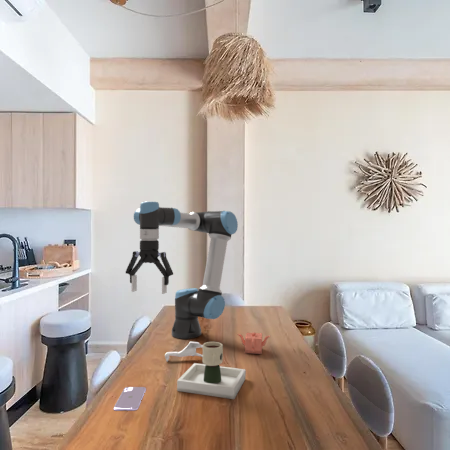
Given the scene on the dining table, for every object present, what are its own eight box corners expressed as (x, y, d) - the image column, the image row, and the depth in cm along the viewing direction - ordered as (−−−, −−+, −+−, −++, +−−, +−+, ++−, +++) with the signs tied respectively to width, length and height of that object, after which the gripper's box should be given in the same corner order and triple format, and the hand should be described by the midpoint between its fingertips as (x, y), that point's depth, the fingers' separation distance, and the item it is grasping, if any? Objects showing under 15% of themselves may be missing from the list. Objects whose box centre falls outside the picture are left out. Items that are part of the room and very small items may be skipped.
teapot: (270, 357, 154) (270, 337, 154) (235, 355, 156) (235, 336, 156) (270, 348, 166) (271, 329, 166) (238, 346, 168) (238, 328, 168)
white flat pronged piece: (202, 372, 152) (162, 358, 150) (213, 347, 153) (173, 333, 150) (203, 374, 151) (162, 360, 148) (213, 349, 151) (173, 334, 149)
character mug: (224, 387, 123) (225, 349, 122) (203, 389, 121) (204, 350, 121) (220, 374, 133) (220, 339, 133) (200, 375, 132) (201, 340, 132)
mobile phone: (112, 408, 109) (124, 386, 124) (112, 411, 109) (124, 389, 124) (137, 408, 109) (146, 386, 124) (137, 411, 109) (146, 389, 124)
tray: (194, 372, 138) (194, 363, 138) (245, 378, 132) (245, 369, 132) (177, 390, 122) (177, 380, 122) (234, 399, 117) (234, 388, 117)
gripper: (117, 239, 146) (116, 292, 146) (173, 240, 139) (173, 295, 139) (127, 238, 153) (126, 288, 154) (181, 240, 146) (181, 292, 146)
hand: (149, 292), depth 146 cm, fingers open, 13 cm apart
